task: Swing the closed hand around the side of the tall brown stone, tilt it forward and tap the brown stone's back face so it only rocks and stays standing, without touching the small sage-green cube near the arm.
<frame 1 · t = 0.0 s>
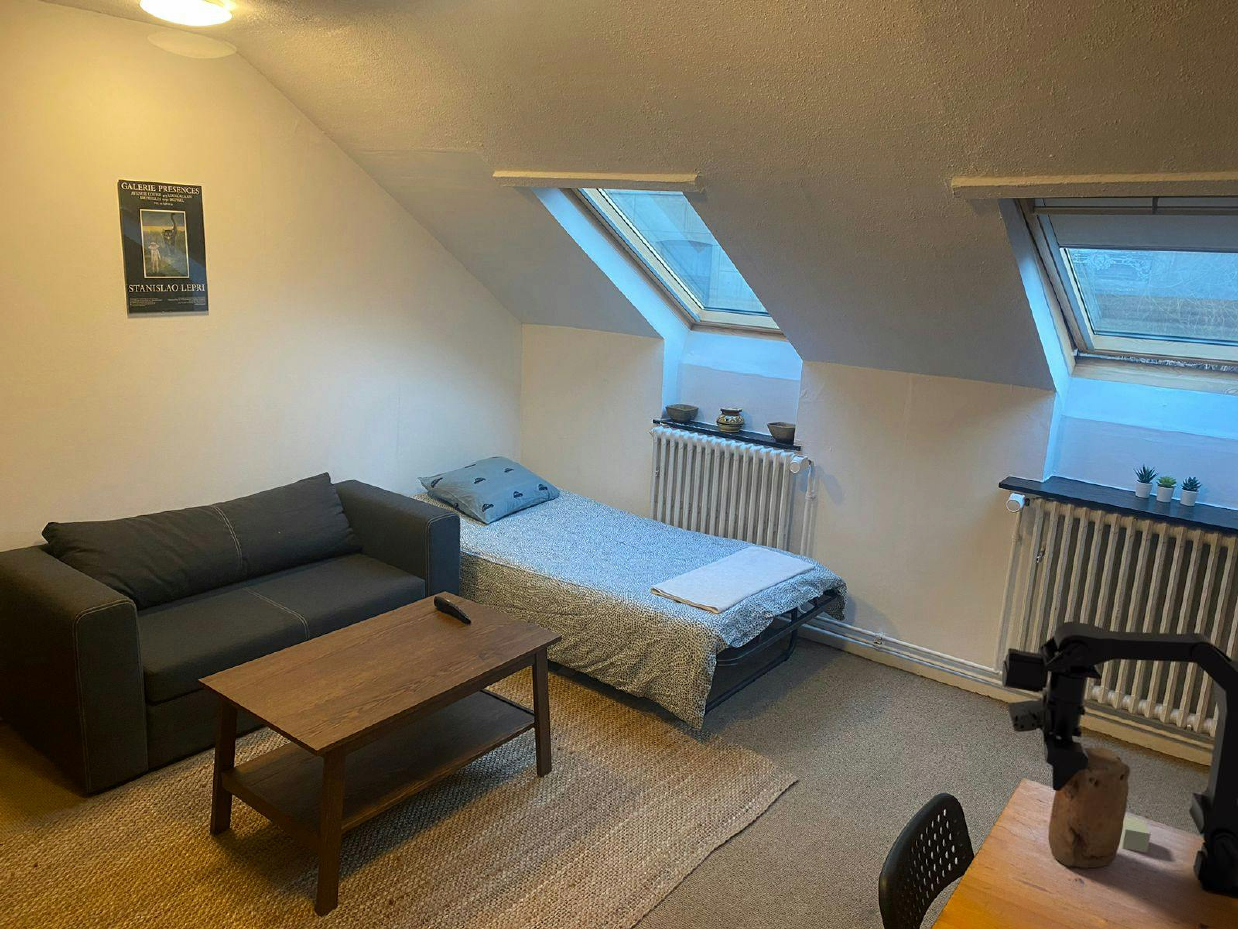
hand: (1052, 775, 162), 15 cm above the table, tool pointing down, fingers open, 9 cm apart
brown stone: (1079, 858, 163), on the table
sage cube: (1131, 844, 168), on the table
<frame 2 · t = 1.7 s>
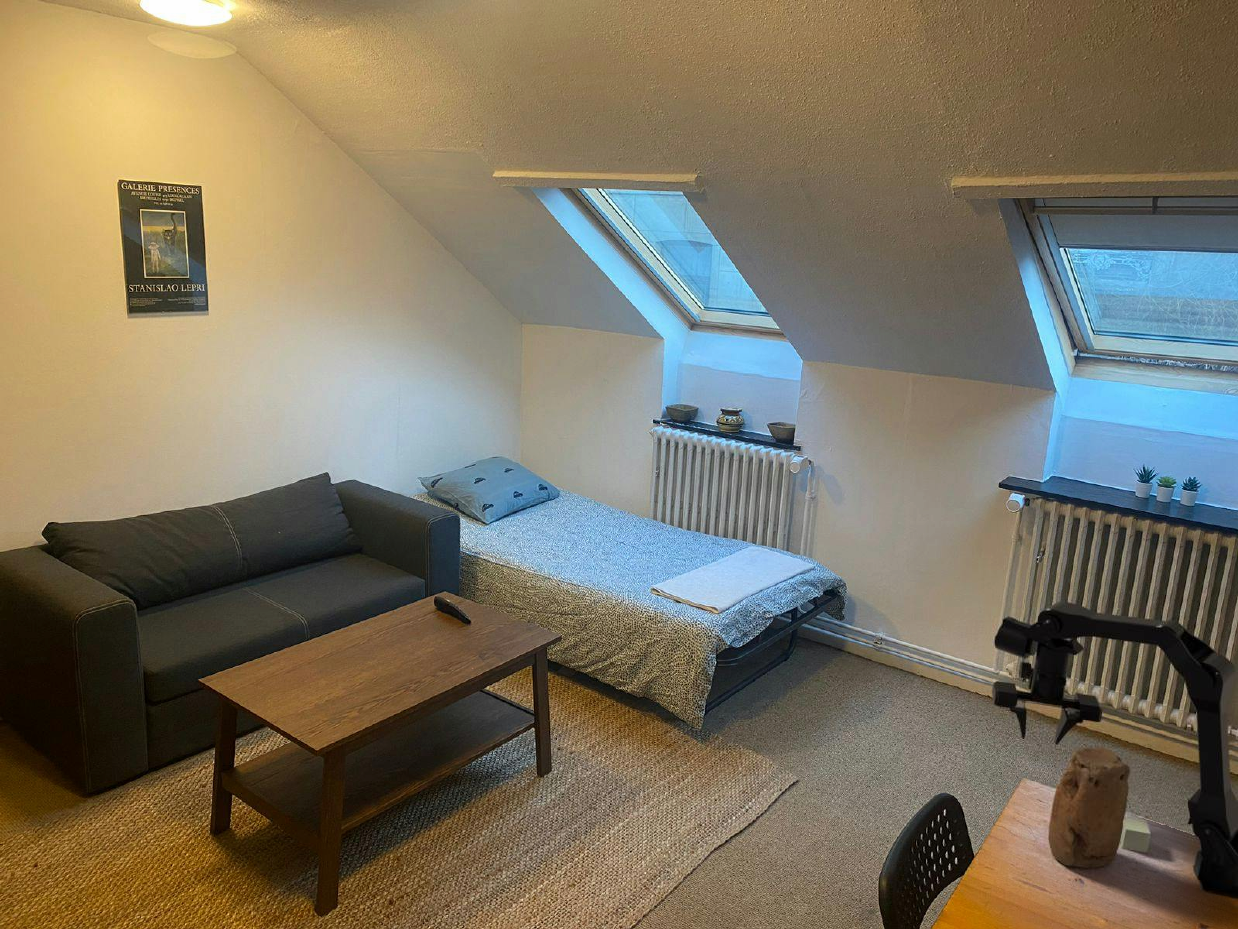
hand: (1039, 740, 178), 12 cm above the table, tool pointing down, fingers open, 6 cm apart
nothing on the table moved.
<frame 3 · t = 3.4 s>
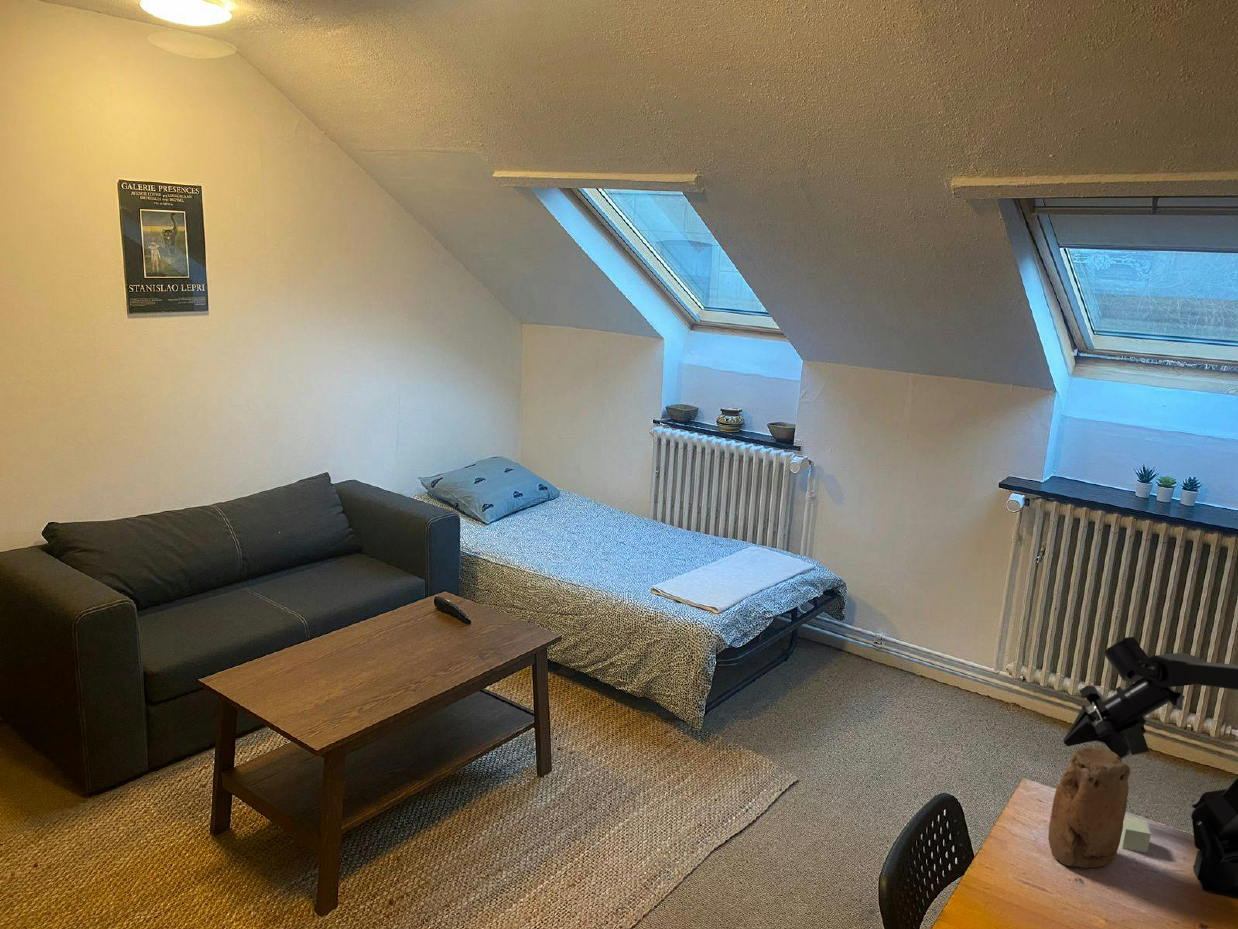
hand: (1065, 743, 177), 12 cm above the table, tool tilted 45°, fingers closed
nothing on the table moved.
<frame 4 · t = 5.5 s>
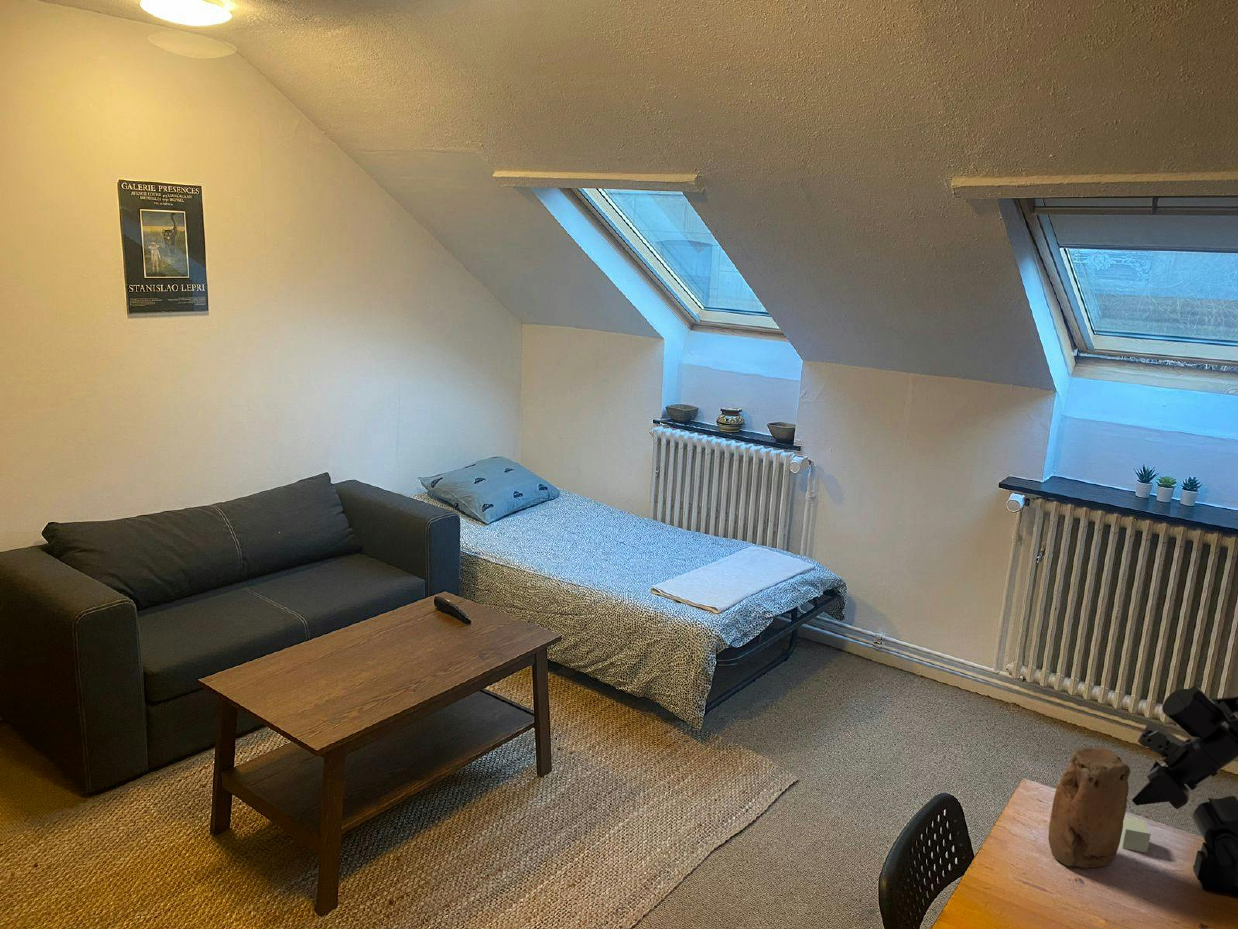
hand: (1134, 802, 160), 12 cm above the table, tool tilted 35°, fingers closed
nothing on the table moved.
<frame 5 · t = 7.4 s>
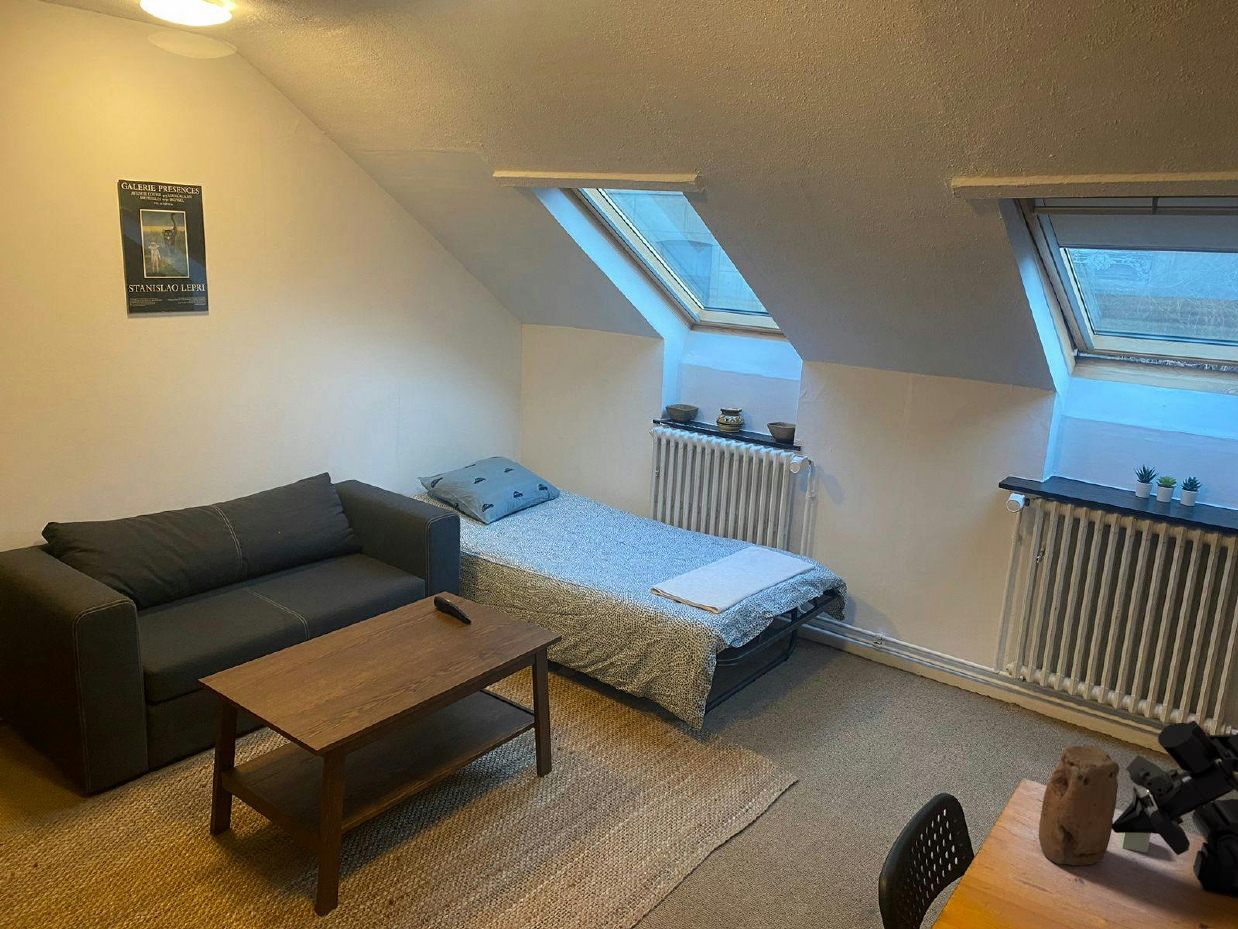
hand: (1113, 829, 160), 7 cm above the table, tool tilted 45°, fingers closed, pressing on brown stone
brown stone: (1069, 856, 164), on the table, touching gripper
everything else where it was.
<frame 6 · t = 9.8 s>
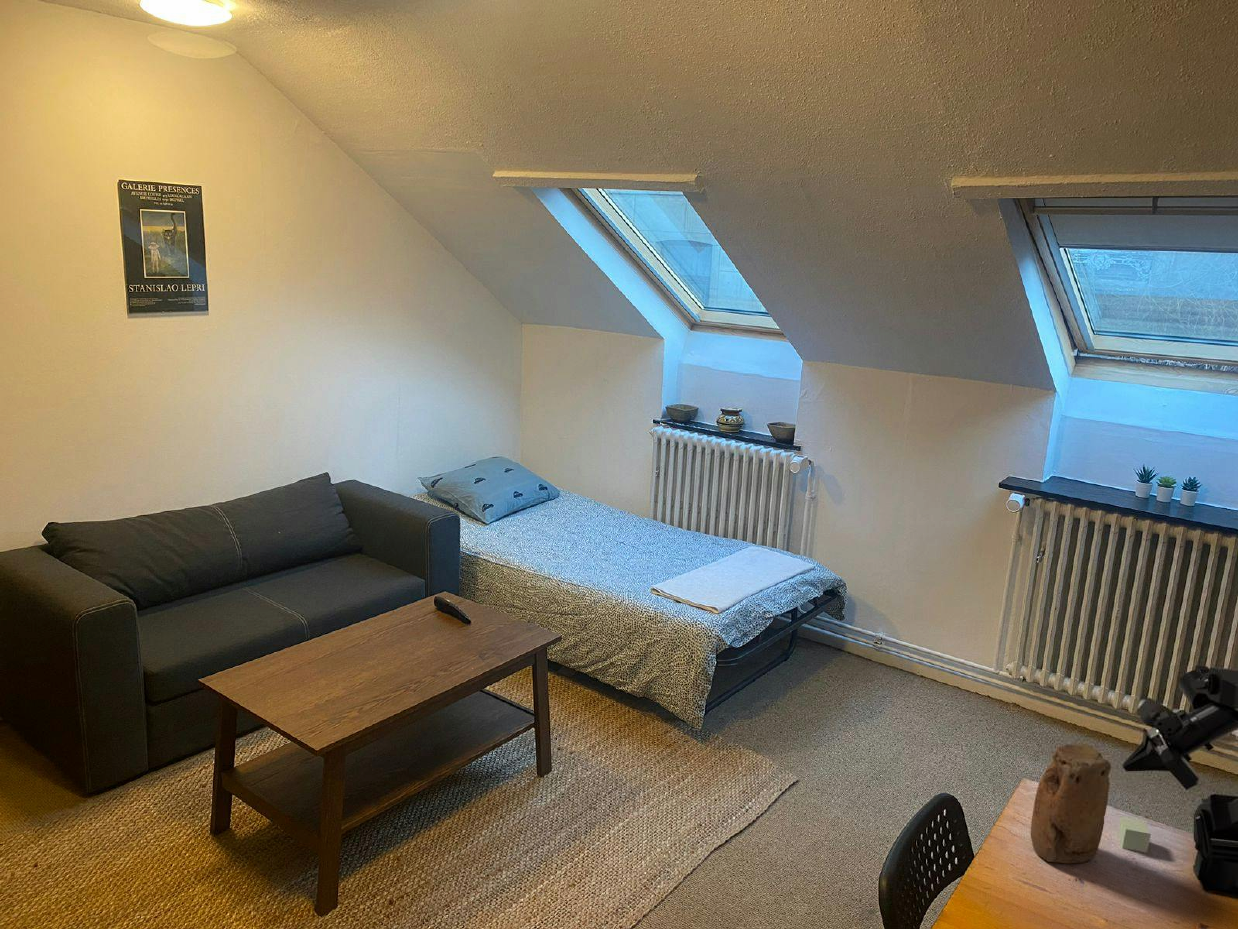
hand: (1124, 768, 168), 13 cm above the table, tool tilted 45°, fingers closed
brown stone: (1060, 854, 164), on the table
everything else where it was.
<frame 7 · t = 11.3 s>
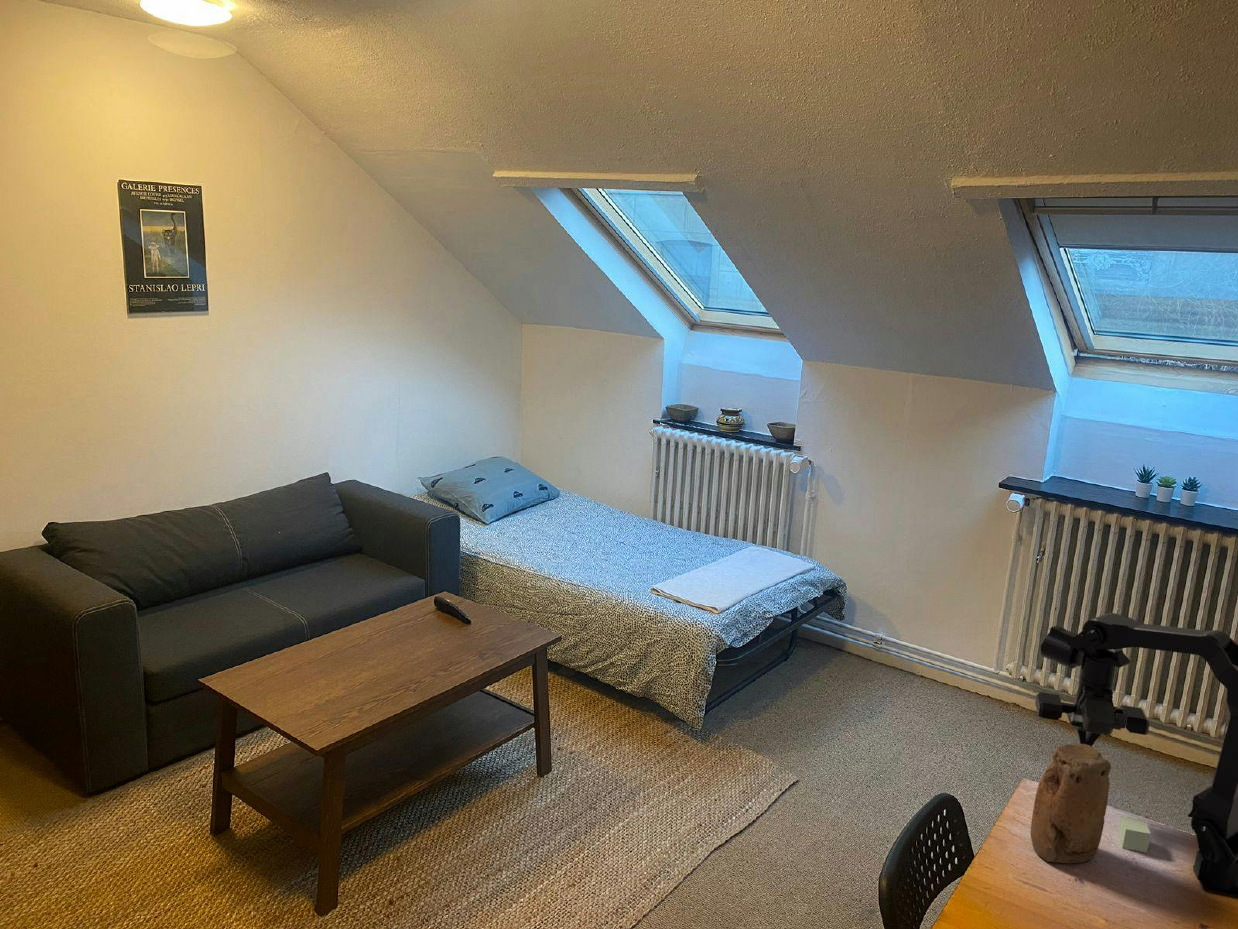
hand: (1083, 752, 176), 11 cm above the table, tool pointing down, fingers closed
nothing on the table moved.
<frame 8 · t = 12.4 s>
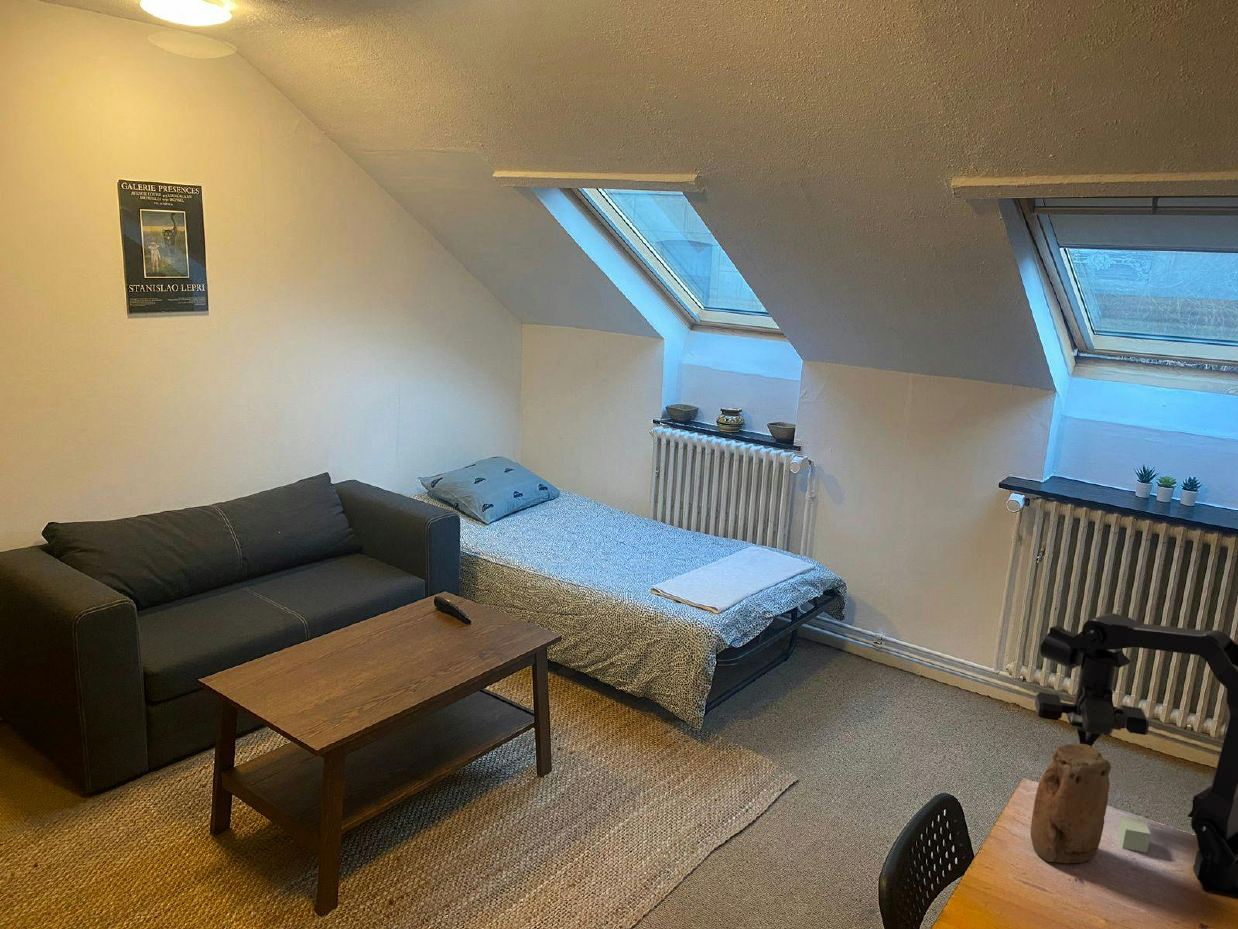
hand: (1083, 753, 176), 11 cm above the table, tool pointing down, fingers closed
nothing on the table moved.
at the end: brown stone tilted 0°; brown stone moved 3.0 cm from its start; sage cube moved 0.1 cm from its start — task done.
